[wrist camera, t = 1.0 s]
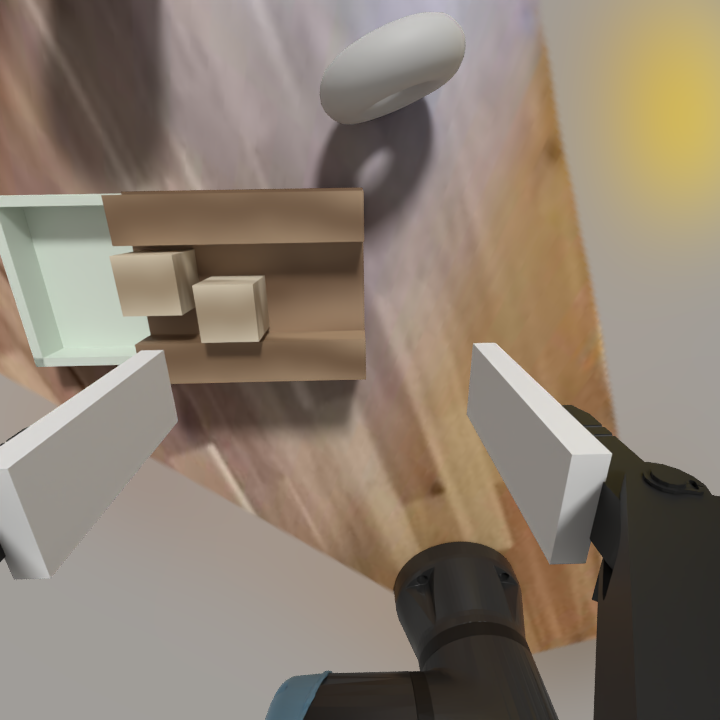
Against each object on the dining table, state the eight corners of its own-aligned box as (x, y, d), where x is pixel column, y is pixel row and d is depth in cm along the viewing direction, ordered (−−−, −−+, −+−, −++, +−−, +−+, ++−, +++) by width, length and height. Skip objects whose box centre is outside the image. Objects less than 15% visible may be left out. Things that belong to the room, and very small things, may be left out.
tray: (181, 351, 39) (167, 363, 36) (61, 354, 39) (36, 366, 36) (153, 194, 34) (133, 193, 31) (15, 197, 34) (-19, 195, 31)
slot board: (363, 347, 39) (365, 382, 31) (187, 351, 39) (144, 388, 31) (360, 191, 34) (363, 185, 26) (159, 194, 34) (100, 190, 26)
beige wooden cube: (269, 326, 32) (258, 341, 28) (219, 327, 32) (201, 342, 28) (264, 275, 30) (252, 284, 27) (211, 276, 30) (192, 285, 27)
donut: (333, 142, 33) (326, 115, 23) (317, 95, 32) (303, 48, 22) (451, 93, 32) (493, 44, 22) (439, 43, 31) (477, -31, 21)
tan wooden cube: (202, 302, 31) (182, 315, 27) (150, 303, 31) (123, 316, 27) (194, 249, 30) (171, 255, 26) (139, 250, 30) (109, 256, 26)
